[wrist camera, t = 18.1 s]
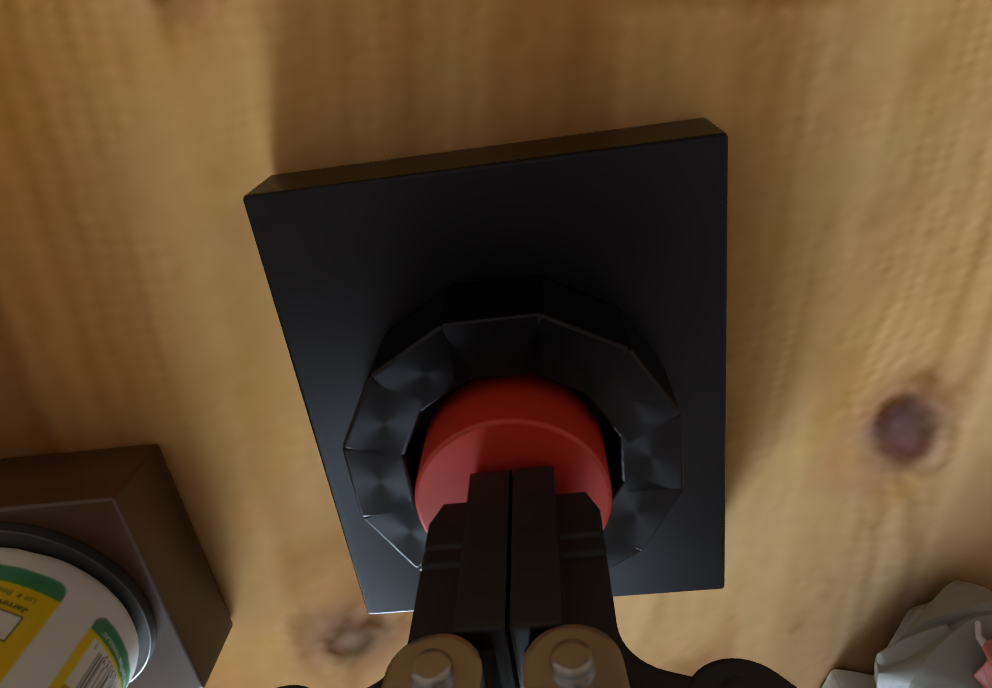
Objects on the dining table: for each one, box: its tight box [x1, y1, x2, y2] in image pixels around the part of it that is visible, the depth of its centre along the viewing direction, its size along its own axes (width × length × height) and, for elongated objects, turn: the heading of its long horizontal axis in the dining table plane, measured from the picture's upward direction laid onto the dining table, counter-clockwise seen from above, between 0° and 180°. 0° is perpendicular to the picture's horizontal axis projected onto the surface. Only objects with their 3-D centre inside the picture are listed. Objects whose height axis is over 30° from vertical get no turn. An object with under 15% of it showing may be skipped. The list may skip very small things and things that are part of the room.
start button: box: [415, 374, 612, 533], centre depth 14 cm, size 4×4×2 cm
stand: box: [0, 445, 232, 688], centre depth 19 cm, size 6×6×2 cm
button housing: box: [243, 118, 728, 614], centre depth 15 cm, size 11×9×4 cm
